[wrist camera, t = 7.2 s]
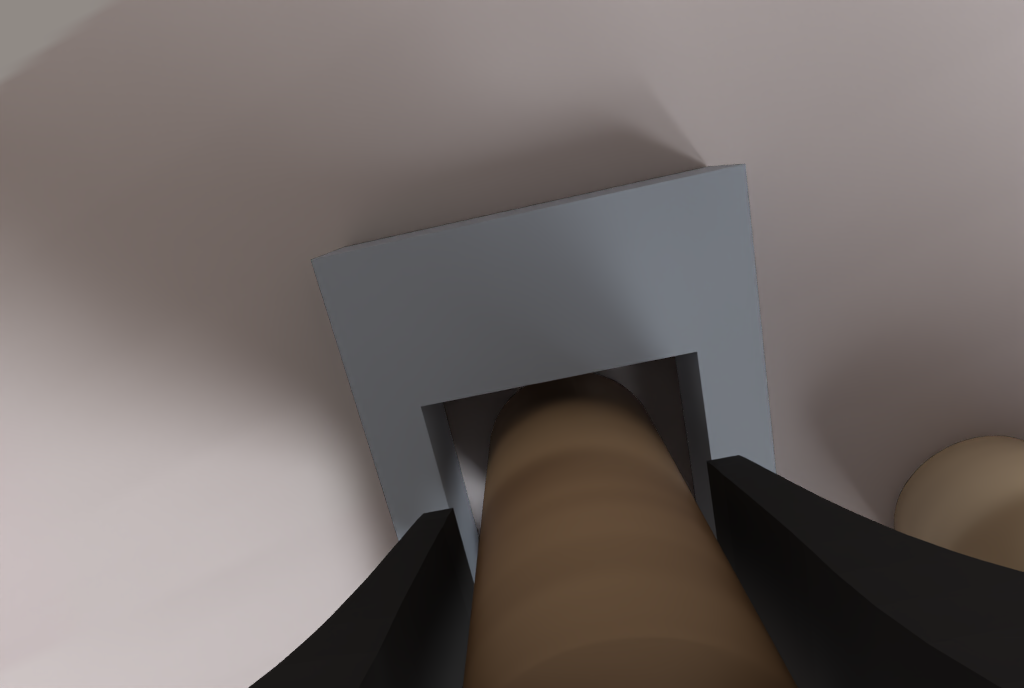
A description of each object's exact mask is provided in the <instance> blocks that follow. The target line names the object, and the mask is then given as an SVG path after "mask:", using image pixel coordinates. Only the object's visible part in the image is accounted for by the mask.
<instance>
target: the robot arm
mask: <svg viewBox="0 0 1024 688" xmlns="http://www.w3.org/2000/svg"><path fill="white" fill-rule="evenodd" d="M706 462H707V469H708V476H709V484H710V491H711V498H712V506H713V513H714V520H715V528H716V535H717V541H718V543H719V545H720V546H721V548H722V550H723V552H724V554H725V556H726V557H727V559H728V561H729V563H730V565H731V567H732V568H733V570H734V572H735V574H736V576H737V577H738V579H739V581H740V583H741V585H742V587H743V588H744V590H745V592H746V594H747V596H748V598H749V599H750V601H751V603H752V605H753V607H754V608H755V610H756V612H757V614H758V616H759V618H760V619H761V621H762V623H763V625H764V627H765V629H766V630H767V632H768V634H769V636H770V638H771V639H772V641H773V643H774V645H775V647H776V649H777V650H778V652H779V654H780V656H781V658H782V660H783V661H784V663H785V665H786V667H787V669H788V670H789V672H790V674H791V676H792V678H793V680H794V681H795V683H796V685H797V687H798V688H1024V572H1022V571H1018V570H1015V569H1011V568H1008V567H1004V566H1001V565H997V564H994V563H990V562H987V561H983V560H980V559H977V558H974V557H970V556H967V555H964V554H961V553H958V552H955V551H952V550H949V549H946V548H943V547H940V546H937V545H935V544H932V543H929V542H926V541H923V540H921V539H918V538H915V537H912V536H909V535H907V534H904V533H902V532H899V531H896V530H894V529H891V528H889V527H886V526H884V525H882V524H879V523H877V522H875V521H872V520H870V519H868V518H865V517H863V516H861V515H859V514H856V513H854V512H852V511H849V510H847V509H845V508H843V507H841V506H839V505H837V504H834V503H832V502H830V501H828V500H826V499H824V498H822V497H820V496H818V495H816V494H814V493H812V492H810V491H808V490H806V489H804V488H802V487H800V486H798V485H796V484H794V483H792V482H790V481H789V480H787V479H785V478H783V477H781V476H779V475H777V474H775V473H773V472H772V471H770V470H768V469H766V468H764V467H762V466H760V465H758V464H757V463H755V462H753V461H751V460H749V459H747V458H745V457H743V456H740V455H736V456H730V457H725V458H719V459H714V460H709V461H706ZM473 591H474V581H473V577H472V574H471V570H470V567H469V563H468V559H467V556H466V552H465V549H464V545H463V541H462V538H461V534H460V531H459V527H458V523H457V520H456V516H455V513H454V509H453V508H449V509H444V510H438V511H433V512H428V513H423V514H422V515H421V516H420V517H419V518H418V519H417V520H416V521H415V523H414V524H413V525H412V526H411V527H410V528H409V530H408V531H407V532H406V533H405V534H404V536H403V537H402V538H401V539H400V540H399V542H398V543H397V544H396V545H395V546H394V548H393V549H392V550H391V551H390V552H389V553H388V555H387V556H386V557H385V558H384V559H383V560H382V562H381V563H380V564H379V565H378V566H377V567H376V569H375V570H374V571H373V572H372V573H371V574H370V575H369V577H368V578H367V579H366V580H365V581H364V582H363V583H362V584H361V585H360V586H359V587H358V588H357V589H356V590H355V592H354V593H353V594H352V595H351V596H350V597H349V598H348V599H347V600H346V601H345V602H344V603H343V604H342V605H341V606H340V607H339V608H338V610H337V611H336V612H335V613H334V614H333V615H332V616H331V617H330V618H329V619H328V620H327V621H326V622H325V623H324V624H323V625H322V626H321V627H320V628H318V629H317V630H316V631H315V632H314V633H313V634H312V635H311V636H310V637H309V638H308V639H307V640H305V641H304V642H303V643H302V644H301V645H300V646H299V647H298V648H296V649H295V650H294V651H293V652H292V653H291V654H290V655H289V656H287V657H286V658H285V659H284V660H283V661H282V662H280V663H279V664H278V665H277V666H276V667H274V668H273V669H272V670H271V671H269V672H268V673H267V674H265V675H264V676H263V677H262V678H260V679H259V680H258V681H256V682H255V683H254V684H253V685H251V686H250V687H249V688H463V681H464V672H465V663H466V654H467V645H468V636H469V627H470V618H471V609H472V600H473Z"/></svg>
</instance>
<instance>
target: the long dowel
mask: <svg viewBox="0 0 1024 688" xmlns="http://www.w3.org/2000/svg"><path fill="white" fill-rule="evenodd" d="M463 688H798V687H797V685H796V683H795V681H794V680H793V678H792V676H791V674H790V672H789V670H788V669H787V667H786V665H785V663H784V661H783V660H782V658H781V656H780V654H779V652H778V650H777V649H776V647H775V645H774V643H773V641H772V639H771V638H770V636H769V634H768V632H767V630H766V629H765V627H764V625H763V623H762V621H761V619H760V618H759V616H758V614H757V612H756V610H755V608H754V607H753V605H752V603H751V601H750V599H749V598H748V596H747V594H746V592H745V590H744V588H743V587H742V585H741V583H740V581H739V579H738V577H737V576H736V574H735V572H734V570H733V568H732V567H731V565H730V563H729V561H728V559H727V557H726V556H725V554H724V552H723V550H722V548H721V546H720V545H719V543H718V541H717V539H716V537H715V535H714V534H713V532H712V530H711V528H710V526H709V525H708V523H707V521H706V519H705V517H704V515H703V514H702V512H701V510H700V508H699V506H698V504H697V503H696V501H695V499H694V497H693V495H692V494H691V492H690V490H689V488H688V486H687V484H686V483H685V481H684V479H683V477H682V475H681V473H680V472H679V470H678V468H677V466H676V464H675V463H674V461H673V459H672V457H671V455H670V453H669V452H668V450H667V448H666V446H665V444H664V442H663V441H662V439H661V437H660V435H659V433H658V432H657V430H656V428H655V426H654V424H653V422H652V421H651V419H650V417H649V415H648V413H647V411H646V410H645V408H644V407H643V405H642V404H641V402H640V401H639V400H638V399H637V398H636V397H635V396H634V395H633V394H632V393H631V392H630V391H629V390H628V389H626V388H625V387H624V386H622V385H620V384H619V383H617V382H615V381H614V380H611V379H609V378H606V377H604V376H601V375H597V374H593V373H587V374H582V375H577V376H572V377H567V378H562V379H557V380H552V381H547V382H542V383H537V384H532V385H527V386H525V387H523V388H522V389H521V390H519V391H518V392H517V393H516V394H515V395H514V396H512V397H511V398H510V400H509V401H508V402H507V403H506V404H505V405H504V407H503V408H502V410H501V412H500V413H499V415H498V417H497V419H496V421H495V423H494V426H493V430H492V433H491V439H490V447H489V456H488V465H487V474H486V483H485V492H484V501H483V510H482V519H481V528H480V537H479V546H478V555H477V564H476V573H475V582H474V591H473V600H472V609H471V618H470V627H469V636H468V645H467V654H466V663H465V672H464V681H463Z"/></svg>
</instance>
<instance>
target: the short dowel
mask: <svg viewBox="0 0 1024 688" xmlns="http://www.w3.org/2000/svg"><path fill="white" fill-rule="evenodd" d="M894 529H895V530H896V531H899V532H902V533H904V534H907V535H909V536H912V537H915V538H918V539H921V540H923V541H926V542H929V543H932V544H935V545H937V546H940V547H943V548H946V549H949V550H952V551H955V552H958V553H961V554H964V555H967V556H970V557H974V558H977V559H980V560H983V561H987V562H990V563H994V564H997V565H1001V566H1004V567H1008V568H1011V569H1015V570H1018V571H1022V572H1024V441H1023V440H1020V439H1016V438H1012V437H1006V436H984V437H977V438H973V439H968V440H965V441H962V442H959V443H956V444H954V445H952V446H950V447H947V448H945V449H943V450H942V451H940V452H939V453H937V454H935V455H934V456H932V457H931V458H930V459H929V460H927V461H926V462H925V463H924V464H923V465H921V466H920V467H919V468H918V469H917V470H916V471H915V473H914V474H913V475H912V476H911V477H910V479H909V480H908V482H907V483H906V485H905V486H904V488H903V490H902V492H901V494H900V496H899V499H898V502H897V505H896V509H895V514H894Z"/></svg>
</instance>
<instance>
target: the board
mask: <svg viewBox="0 0 1024 688" xmlns="http://www.w3.org/2000/svg"><path fill="white" fill-rule="evenodd" d="M311 262H312V265H313V268H314V272H315V275H316V278H317V281H318V284H319V288H320V291H321V294H322V297H323V300H324V304H325V307H326V310H327V313H328V316H329V320H330V323H331V326H332V329H333V332H334V336H335V339H336V342H337V345H338V348H339V352H340V355H341V358H342V361H343V364H344V368H345V371H346V374H347V377H348V380H349V384H350V387H351V390H352V393H353V396H354V400H355V403H356V406H357V409H358V412H359V416H360V419H361V422H362V425H363V428H364V432H365V435H366V438H367V441H368V444H369V448H370V451H371V454H372V457H373V460H374V464H375V467H376V470H377V473H378V476H379V480H380V483H381V486H382V489H383V492H384V496H385V499H386V502H387V505H388V508H389V512H390V515H391V518H392V521H393V524H394V528H395V531H396V534H397V537H398V540H400V539H401V538H402V537H403V536H404V534H405V533H406V532H407V531H408V530H409V528H410V527H411V526H412V525H413V524H414V523H415V521H416V520H417V519H418V518H419V517H420V516H421V515H422V514H423V513H428V512H433V511H438V510H444V509H449V508H453V509H454V513H455V516H456V520H457V523H458V527H459V531H460V534H461V538H462V541H463V545H464V549H465V552H466V556H467V559H468V563H469V567H470V570H471V574H472V577H473V581H474V582H475V573H476V564H477V555H478V546H479V536H478V533H477V529H476V525H475V521H474V518H473V514H472V510H471V507H470V503H469V499H468V495H467V492H466V488H465V484H464V480H463V477H462V473H461V469H460V465H459V462H458V458H457V454H456V450H455V447H454V443H453V439H452V436H451V432H450V428H449V424H448V421H447V417H446V413H445V409H444V406H443V402H446V401H451V400H456V399H461V398H466V397H471V396H476V395H481V394H486V393H491V392H496V391H501V390H506V389H512V388H517V387H522V386H527V385H532V384H537V383H542V382H547V381H552V380H557V379H562V378H567V377H572V376H577V375H582V374H587V373H592V372H597V371H602V370H607V369H612V368H617V367H622V366H627V365H632V364H637V363H642V362H647V361H652V360H657V359H662V358H667V357H672V356H675V359H676V366H677V373H678V380H679V387H680V393H681V400H682V407H683V414H684V421H685V428H686V435H687V442H688V449H689V456H690V463H691V469H692V476H693V483H694V490H695V497H696V503H697V504H698V506H699V508H700V510H701V512H702V514H703V515H704V517H705V519H706V521H707V523H708V525H709V526H710V528H711V530H712V532H713V534H714V535H715V537H716V539H717V535H716V528H715V520H714V513H713V506H712V498H711V491H710V484H709V476H708V469H707V462H706V461H709V460H714V459H719V458H725V457H730V456H736V455H740V456H743V457H745V458H747V459H749V460H751V461H753V462H755V463H757V464H758V465H760V466H762V467H764V468H766V469H768V470H770V471H772V472H773V473H775V474H776V466H775V456H774V446H773V436H772V426H771V416H770V406H769V396H768V386H767V376H766V366H765V356H764V346H763V336H762V326H761V316H760V306H759V296H758V286H757V276H756V266H755V256H754V246H753V236H752V226H751V216H750V206H749V196H748V186H747V176H746V166H745V164H736V165H721V166H708V167H704V168H699V169H695V170H690V171H686V172H681V173H677V174H672V175H668V176H663V177H659V178H654V179H650V180H645V181H641V182H636V183H632V184H627V185H623V186H618V187H614V188H609V189H605V190H600V191H596V192H591V193H586V194H582V195H577V196H573V197H568V198H564V199H559V200H555V201H550V202H546V203H541V204H537V205H532V206H528V207H523V208H519V209H514V210H510V211H505V212H501V213H496V214H492V215H487V216H483V217H478V218H474V219H469V220H465V221H460V222H456V223H451V224H447V225H442V226H438V227H433V228H428V229H424V230H419V231H415V232H410V233H406V234H401V235H397V236H392V237H388V238H383V239H379V240H374V241H370V242H365V243H361V244H356V245H352V246H347V247H343V248H340V249H338V250H335V251H332V252H330V253H327V254H325V255H322V256H319V257H317V258H314V259H312V260H311Z"/></svg>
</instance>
